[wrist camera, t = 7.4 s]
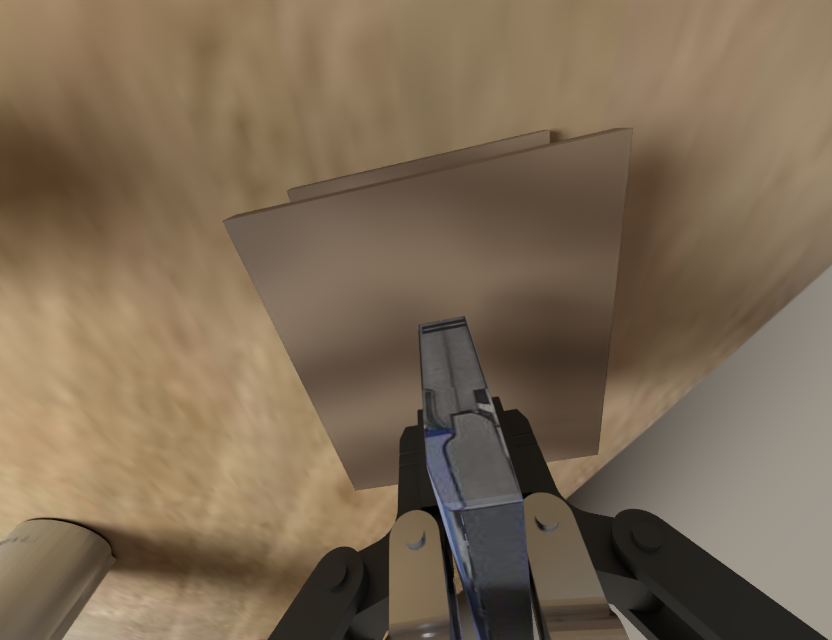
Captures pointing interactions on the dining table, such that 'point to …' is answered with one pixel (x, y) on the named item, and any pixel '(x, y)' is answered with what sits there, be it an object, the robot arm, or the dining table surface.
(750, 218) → the dining table surface
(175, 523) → the dining table surface
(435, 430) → the mini dv tape
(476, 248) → the stand
